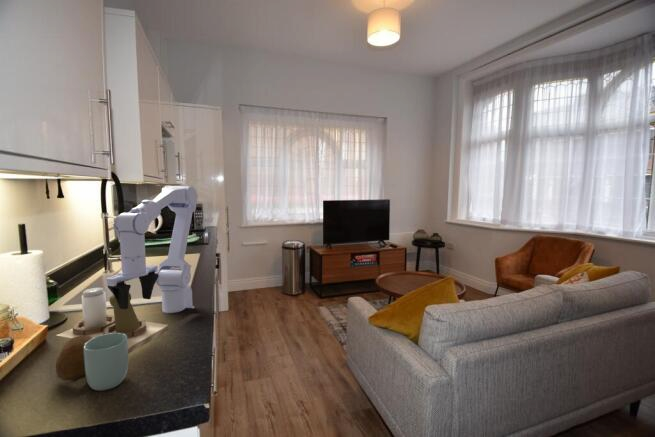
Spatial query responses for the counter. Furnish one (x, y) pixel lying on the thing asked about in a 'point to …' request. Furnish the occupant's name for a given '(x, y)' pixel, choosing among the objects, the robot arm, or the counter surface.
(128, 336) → the cruet stand
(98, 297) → the salt shaker
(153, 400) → the counter surface
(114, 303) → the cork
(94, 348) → the cup
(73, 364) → the potato
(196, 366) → the counter surface
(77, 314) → the counter surface
